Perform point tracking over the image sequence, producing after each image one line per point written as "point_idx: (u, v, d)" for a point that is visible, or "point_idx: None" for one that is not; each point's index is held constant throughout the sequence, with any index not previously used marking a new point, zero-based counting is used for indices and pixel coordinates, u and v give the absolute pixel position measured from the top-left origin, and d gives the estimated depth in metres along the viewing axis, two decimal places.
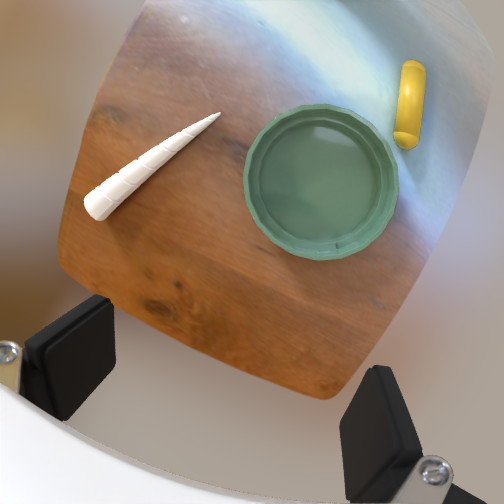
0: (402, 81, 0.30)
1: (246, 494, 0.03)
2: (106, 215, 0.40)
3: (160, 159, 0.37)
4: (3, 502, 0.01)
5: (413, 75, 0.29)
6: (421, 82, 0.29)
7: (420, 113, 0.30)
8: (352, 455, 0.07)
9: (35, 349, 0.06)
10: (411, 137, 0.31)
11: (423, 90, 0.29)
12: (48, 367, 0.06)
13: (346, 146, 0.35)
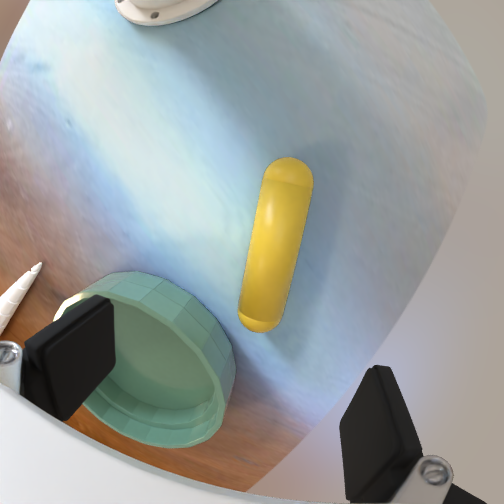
0: (256, 213, 0.21)
1: (246, 494, 0.03)
2: None
3: (8, 309, 0.28)
4: (3, 502, 0.01)
5: (274, 202, 0.19)
6: (291, 215, 0.19)
7: (282, 279, 0.21)
8: (352, 455, 0.07)
9: (35, 349, 0.06)
10: (259, 324, 0.22)
11: (296, 229, 0.20)
12: (48, 367, 0.06)
13: None
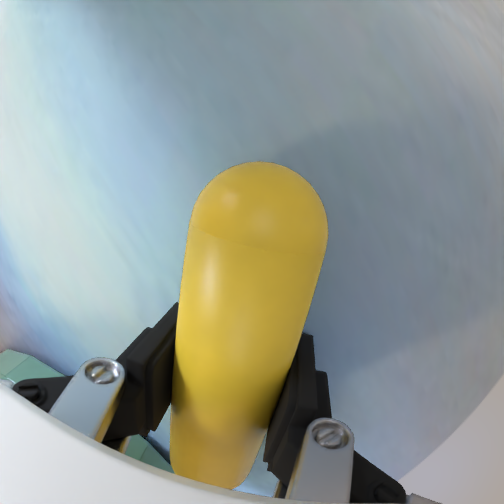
0: (178, 310, 0.08)
1: (246, 494, 0.03)
2: None
3: None
4: (3, 502, 0.01)
5: (210, 301, 0.07)
6: (261, 334, 0.07)
7: (243, 446, 0.08)
8: (272, 418, 0.08)
9: (141, 364, 0.07)
10: None
11: (274, 364, 0.07)
12: (152, 380, 0.07)
13: None
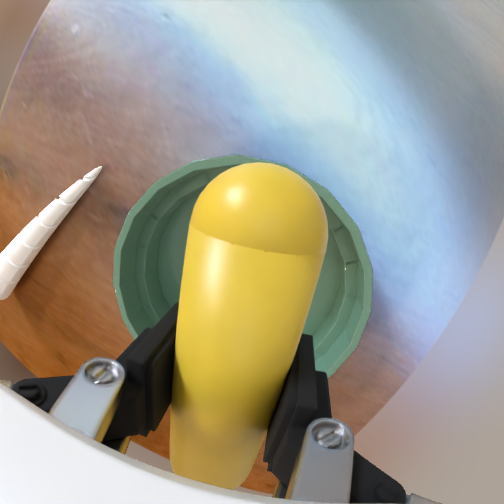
0: (178, 311, 0.08)
1: (246, 494, 0.03)
2: (7, 294, 0.27)
3: (39, 236, 0.24)
4: (3, 502, 0.01)
5: (210, 302, 0.07)
6: (261, 335, 0.07)
7: (243, 446, 0.08)
8: (272, 418, 0.08)
9: (141, 364, 0.07)
10: None
11: (274, 364, 0.07)
12: (152, 380, 0.07)
13: None
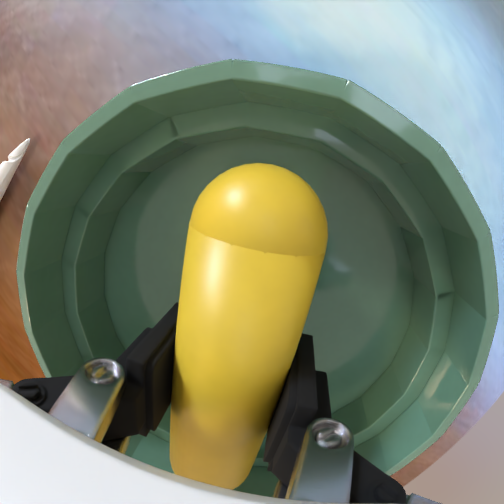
0: None
1: (246, 494, 0.03)
2: None
3: None
4: (3, 502, 0.01)
5: (209, 303, 0.07)
6: (260, 336, 0.07)
7: (242, 447, 0.08)
8: (272, 418, 0.08)
9: (142, 364, 0.07)
10: None
11: (274, 365, 0.07)
12: (153, 380, 0.07)
13: (333, 210, 0.12)
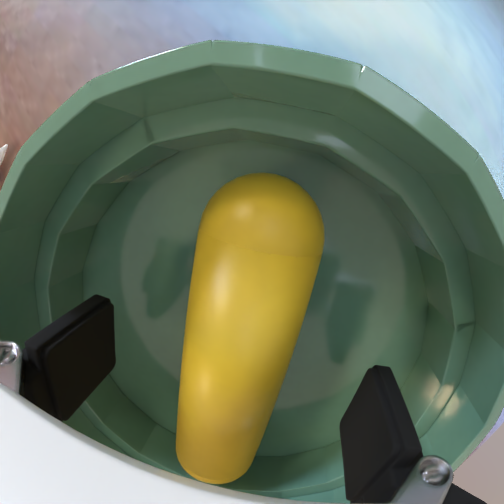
0: (187, 308, 0.09)
1: (246, 494, 0.03)
2: None
3: None
4: (3, 502, 0.01)
5: (219, 299, 0.07)
6: (265, 329, 0.07)
7: (247, 435, 0.09)
8: (352, 455, 0.07)
9: (35, 349, 0.06)
10: (209, 480, 0.10)
11: (276, 356, 0.08)
12: (48, 367, 0.06)
13: (339, 226, 0.10)
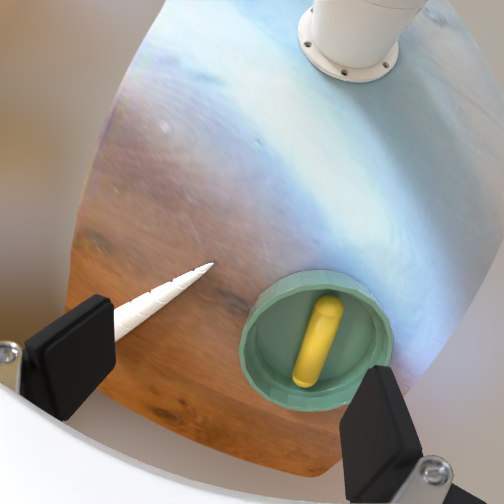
0: (309, 328, 0.34)
1: (246, 493, 0.03)
2: None
3: (154, 309, 0.37)
4: (3, 502, 0.01)
5: (322, 326, 0.33)
6: (331, 331, 0.33)
7: (322, 362, 0.34)
8: (352, 455, 0.07)
9: (35, 349, 0.06)
10: (306, 384, 0.35)
11: (332, 338, 0.33)
12: (48, 367, 0.06)
13: (346, 303, 0.35)
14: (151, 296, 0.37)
